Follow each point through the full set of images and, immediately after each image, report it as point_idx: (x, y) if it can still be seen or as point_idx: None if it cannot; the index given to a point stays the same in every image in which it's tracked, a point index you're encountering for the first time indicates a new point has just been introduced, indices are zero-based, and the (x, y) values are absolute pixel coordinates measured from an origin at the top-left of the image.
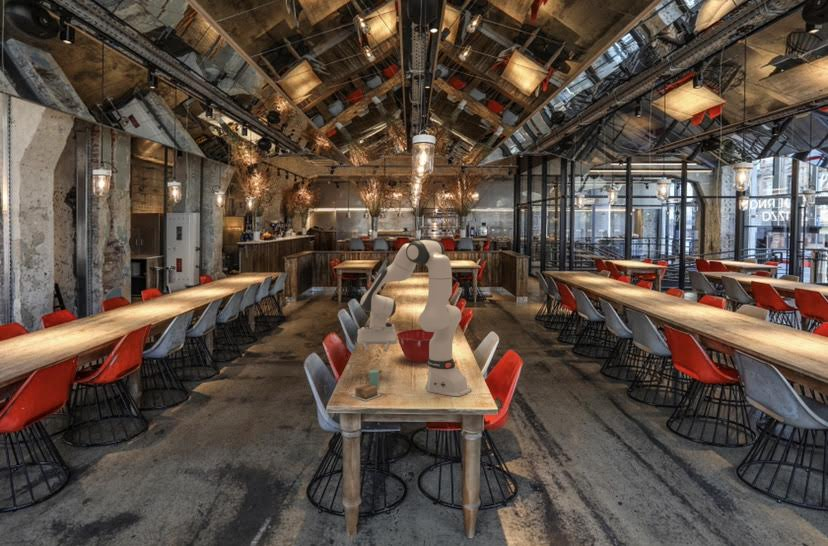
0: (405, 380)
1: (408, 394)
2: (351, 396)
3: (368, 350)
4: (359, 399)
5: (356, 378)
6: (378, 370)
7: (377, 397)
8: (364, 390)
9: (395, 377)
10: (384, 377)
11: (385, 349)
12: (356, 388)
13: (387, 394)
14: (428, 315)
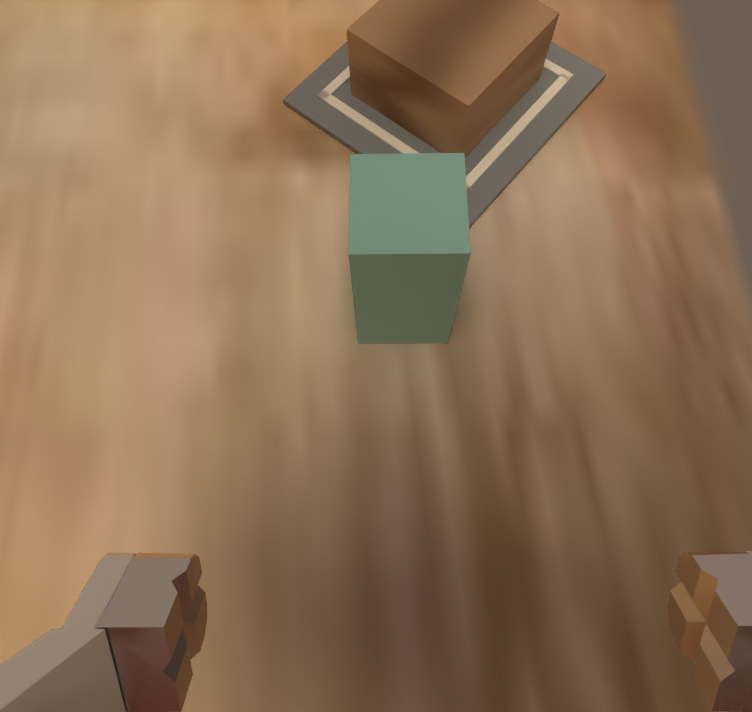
0: (41, 550)
1: (75, 131)
2: (569, 62)
3: (680, 610)
4: None
5: None
6: (349, 232)
7: (344, 47)
8: None
9: None
10: (308, 685)
11: (152, 559)
12: (543, 13)
13: (262, 128)
14: None
